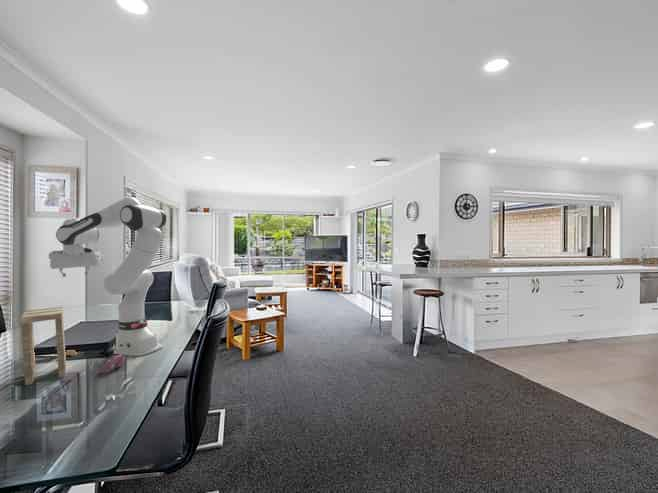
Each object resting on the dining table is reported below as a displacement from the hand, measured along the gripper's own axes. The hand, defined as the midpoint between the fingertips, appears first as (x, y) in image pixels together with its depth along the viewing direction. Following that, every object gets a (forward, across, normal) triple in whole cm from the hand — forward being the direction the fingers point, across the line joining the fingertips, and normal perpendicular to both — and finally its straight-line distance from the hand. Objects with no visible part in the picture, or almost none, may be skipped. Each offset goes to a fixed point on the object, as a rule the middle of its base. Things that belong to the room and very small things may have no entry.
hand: (75, 275), depth 177 cm
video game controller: (+36, +11, -56) cm, 68 cm away
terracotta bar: (+36, -10, -18) cm, 41 cm away
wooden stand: (+35, -11, -45) cm, 58 cm away
